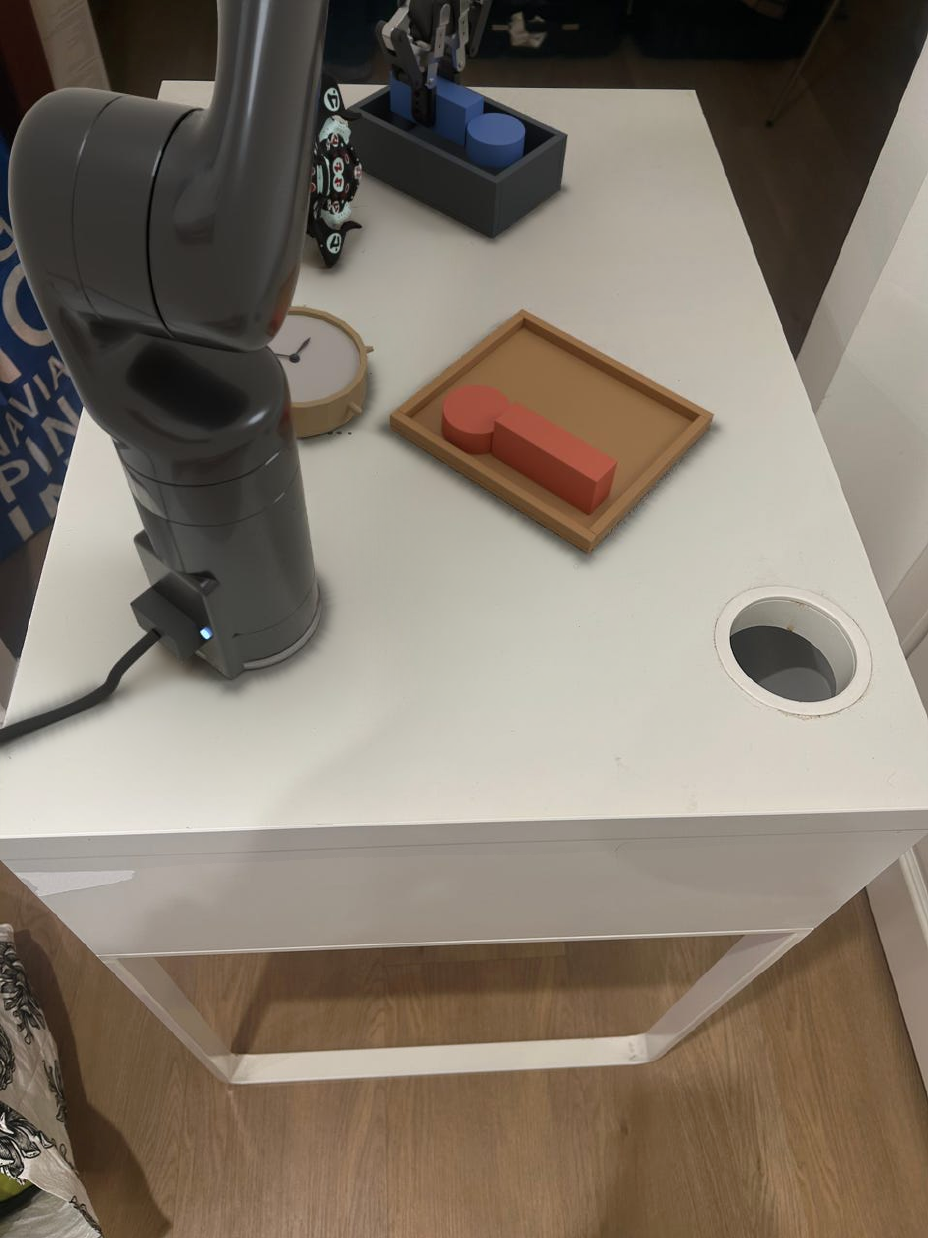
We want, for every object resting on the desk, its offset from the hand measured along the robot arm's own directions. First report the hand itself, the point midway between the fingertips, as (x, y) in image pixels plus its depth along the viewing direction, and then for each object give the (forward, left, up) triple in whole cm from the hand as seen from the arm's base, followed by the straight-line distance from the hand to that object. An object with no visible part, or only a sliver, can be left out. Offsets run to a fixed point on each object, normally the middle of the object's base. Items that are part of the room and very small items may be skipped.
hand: (435, 115), depth 90 cm
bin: (0, -3, -5) cm, 6 cm away
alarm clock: (-32, -11, -5) cm, 34 cm away
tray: (-21, -30, -5) cm, 37 cm away
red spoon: (-25, -31, -4) cm, 40 cm away
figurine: (-17, +2, -5) cm, 18 cm away
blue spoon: (0, -2, -1) cm, 2 cm away
